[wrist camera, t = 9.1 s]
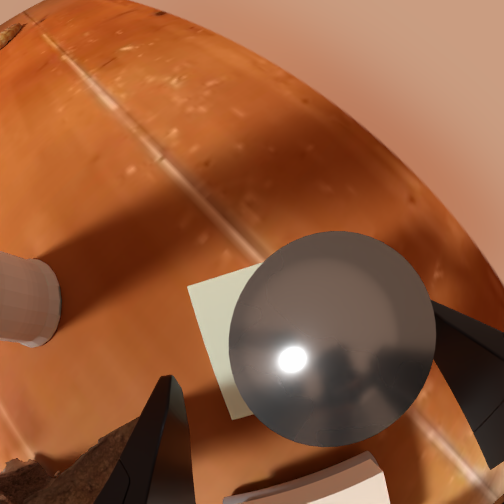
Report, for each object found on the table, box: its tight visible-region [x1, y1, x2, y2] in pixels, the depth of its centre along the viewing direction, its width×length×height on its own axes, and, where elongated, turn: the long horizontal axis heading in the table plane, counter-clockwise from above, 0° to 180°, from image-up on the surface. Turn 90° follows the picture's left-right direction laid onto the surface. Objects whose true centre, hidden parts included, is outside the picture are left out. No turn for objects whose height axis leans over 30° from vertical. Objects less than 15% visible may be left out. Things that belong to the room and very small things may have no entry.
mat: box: [187, 263, 262, 420], centre depth 17 cm, size 9×9×1 cm
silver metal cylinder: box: [229, 231, 436, 447], centre depth 11 cm, size 4×4×12 cm
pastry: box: [0, 23, 22, 49], centre depth 30 cm, size 9×7×4 cm
